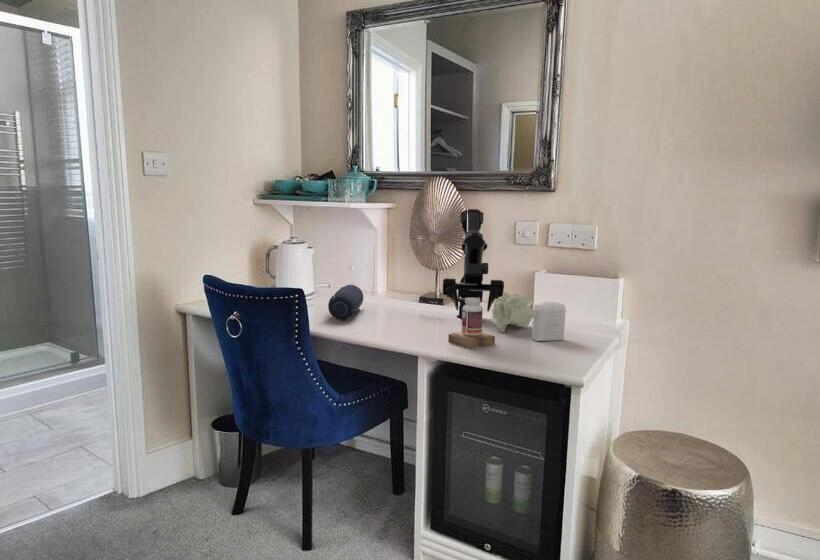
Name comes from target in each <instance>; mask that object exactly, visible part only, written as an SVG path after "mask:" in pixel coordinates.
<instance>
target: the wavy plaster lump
mask: <svg viewBox="0 0 820 560" xmlns="http://www.w3.org/2000/svg"><path fill="white" fill-rule="evenodd" d="M532 303H533V300H532V299H530V298H528V297H521V296H519V295H518V294H510V293H509V292H507V291H503V296H502V297H499V298H498V299H495V300H494V301H493V309H492V315H491V316H492V317H491V321H492V323H493V324H494V325H495V326H496V327H497V329H498V331H499V332H500V333H504V331H505V330H506V327H508V325H510V326H511V325H513V326H515V327H518V328H524V329H526V328H528V326H529V325H530V323H531V322H532V321H533V313H534V309H531V307H532Z"/></svg>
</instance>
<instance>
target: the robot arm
mask: <svg viewBox="0 0 820 560" xmlns="http://www.w3.org/2000/svg"><path fill="white" fill-rule="evenodd" d="M459 217H460V218H459V224H461V231H462V233H463V239H461V247H460V248H461V252H463V255H464V258H463V276H462V278H460V282H456V280H457V279H456V278H449V277H446V278H444V279H443V280H442V295H443V296H446V297H447V298H450V300H451V301H452V303H453V305H454V307H455V310H456V311H458V314H457V315H456V318H460V319H462V308H463V306H464V305H466V303H465V298H468V297H475V298H480V304H481V303H482V302H483V296H484V292H489V294H488V301H487V306H486V309H487V312H488V313H489V312H490V309H491V307H492V304H494V300H495V299H498V298H499V297H502V296H503V292H504V289H505V282H504V281H503V280H502V279H490V284H489V283H488V284H486V283H483V281H484V280H483V279H484V275H488V274H489V262H483V255H484V252H486V249H488V244H487V243H486V241H485V240H484V237H483V234H482V233H481V232H480V230H481V228H482V225H483V224H484V212H482V211H481V210H480V209H478V208H467V209H465V210H464V211H461V212H460V216H459Z"/></svg>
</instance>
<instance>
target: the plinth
mask: <svg viewBox="0 0 820 560" xmlns="http://www.w3.org/2000/svg"><path fill="white" fill-rule="evenodd" d="M447 340H448V343H450V342H451V344H454V343H455V344H454V345H457V344H458V346H460V345H461V346H460V347H463V346H464V347H463V348H466V347H468V348H467V349H469V348H475V349H477V348H476V347H479V348H483V347H482V346H484V347H487V346H486V345H488V346H492V345H491V344H493V345H495V343H496V341H495V340H496V336H495V335H492V334H489V333H485V332H482V334H481V335H478V336H468V335H464V334H463V333H462V330H461V331H456V332H452V333H448V339H447Z"/></svg>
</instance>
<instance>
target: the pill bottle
mask: <svg viewBox="0 0 820 560" xmlns="http://www.w3.org/2000/svg"><path fill="white" fill-rule="evenodd" d="M465 303H466V305H464V306H463V308H462V318H461V331H462V333H463V334H464V335H468V336H478V335H481V334H482V333H483V311H484V310H483V309H484V308H483V307H482V305H480V304H481V303H480V298H475V297H468V298H465Z"/></svg>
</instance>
